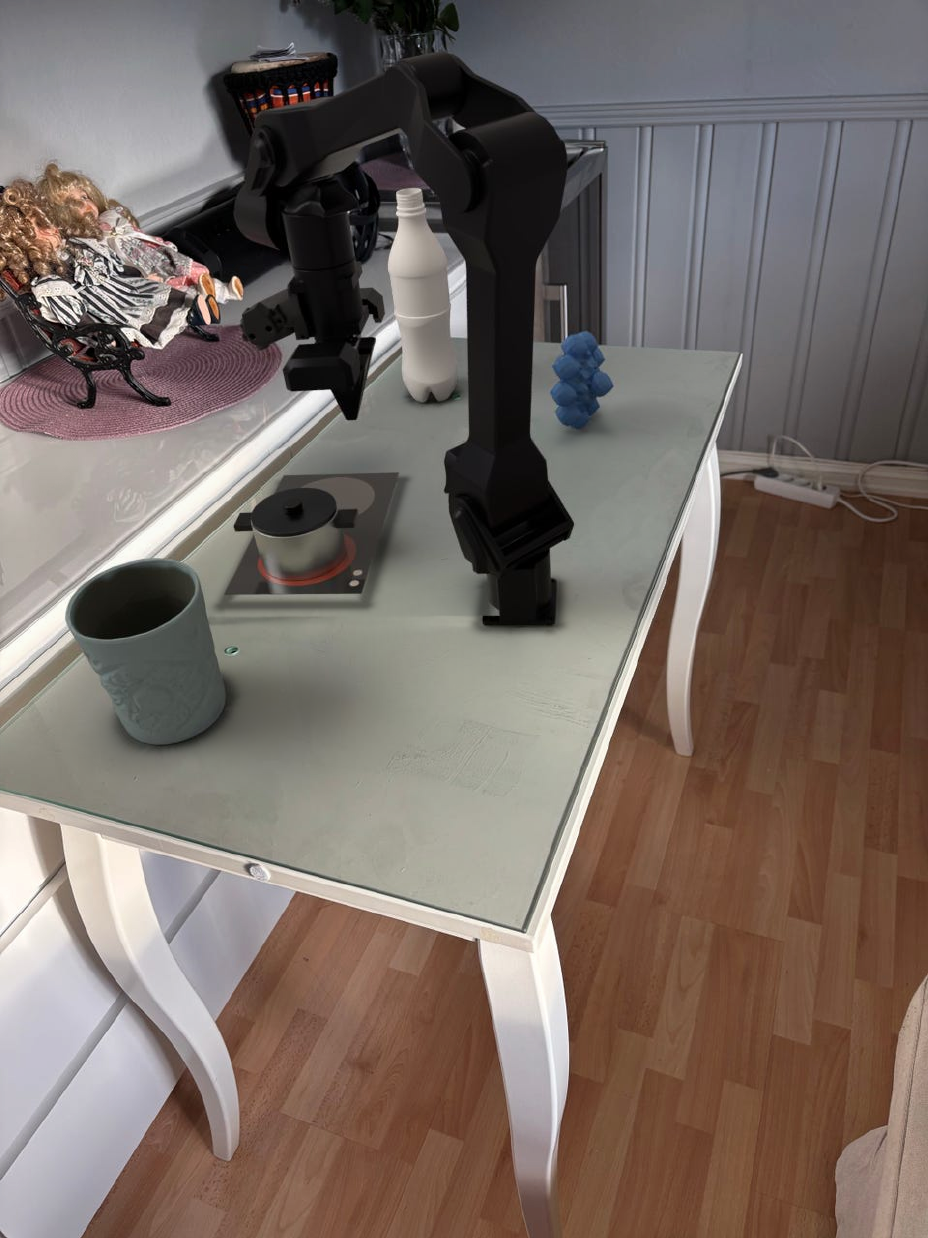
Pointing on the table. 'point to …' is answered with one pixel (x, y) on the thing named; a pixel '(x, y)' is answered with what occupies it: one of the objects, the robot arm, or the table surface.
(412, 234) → the water bottle
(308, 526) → the pot
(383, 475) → the hob
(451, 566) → the table surface
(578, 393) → the grapes
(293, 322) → the robot arm
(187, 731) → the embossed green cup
